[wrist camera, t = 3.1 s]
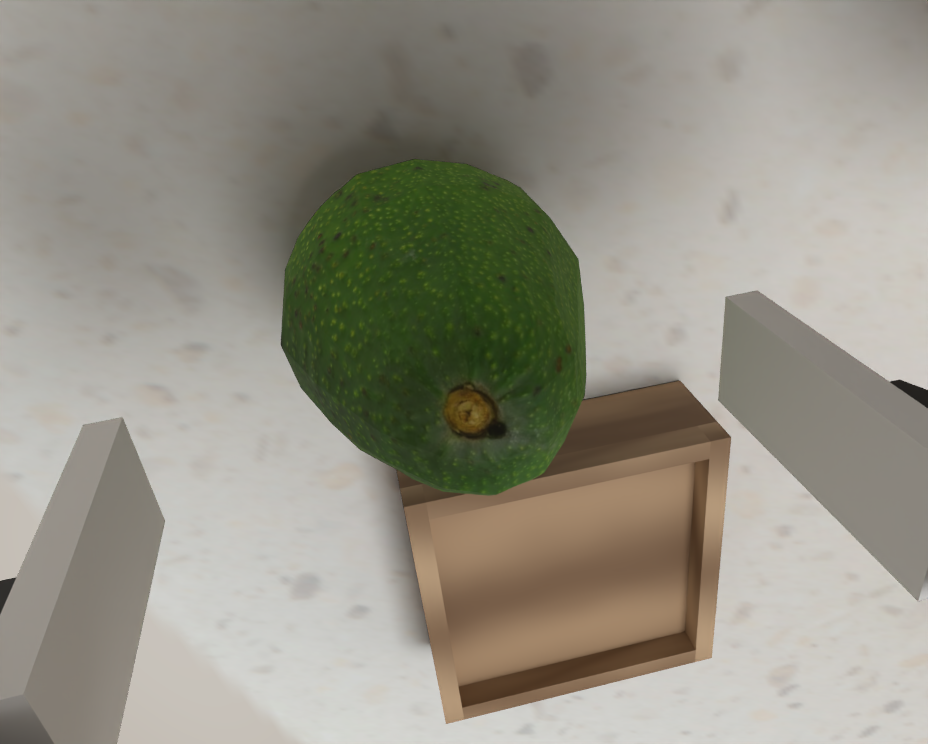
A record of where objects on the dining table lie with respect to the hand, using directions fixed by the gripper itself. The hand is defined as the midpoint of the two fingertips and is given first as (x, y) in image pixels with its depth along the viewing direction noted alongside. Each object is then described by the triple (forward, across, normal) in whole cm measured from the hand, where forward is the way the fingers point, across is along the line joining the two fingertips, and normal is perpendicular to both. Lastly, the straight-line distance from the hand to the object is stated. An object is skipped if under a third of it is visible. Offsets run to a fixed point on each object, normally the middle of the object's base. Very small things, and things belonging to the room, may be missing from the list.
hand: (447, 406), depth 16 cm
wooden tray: (+10, +4, -13) cm, 17 cm away
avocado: (+10, 0, 0) cm, 10 cm away
